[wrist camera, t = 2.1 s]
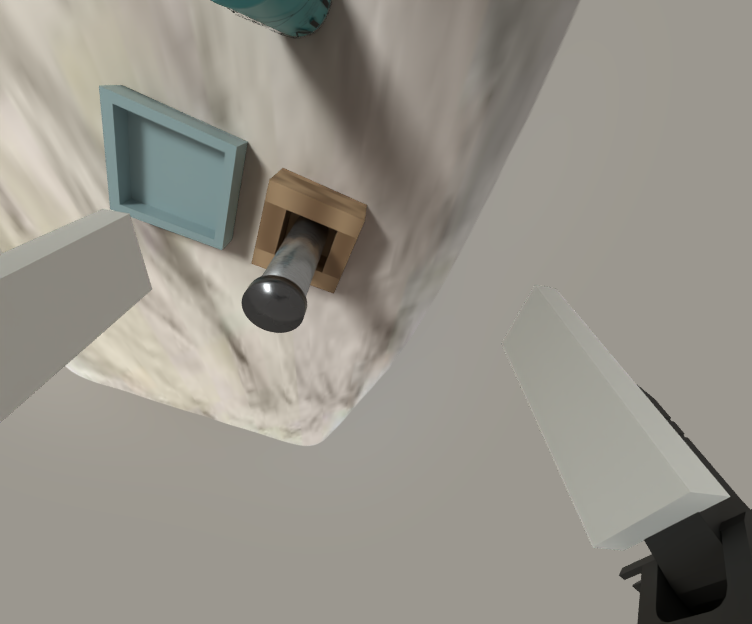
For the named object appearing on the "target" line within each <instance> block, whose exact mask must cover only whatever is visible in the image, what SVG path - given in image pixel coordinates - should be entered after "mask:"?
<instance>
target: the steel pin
mask: <svg viewBox="0 0 752 624" xmlns="http://www.w3.org/2000/svg"><path fill="white" fill-rule="evenodd" d="M328 234H329V228H328V227H327V226H325V225H322V224H320V223H318V222H315V221H313V220H310V219H308V218H306V217H303V216H300V217H299V218H298V219H297V221H296V222H295V224H294V225H293V227H292V229H291V230H290V232H289V233H288V235H287V237H286V238H285V240H284V241H283V243H282V245H281V246H280V248H279V249H278V251H277V253H276V254H275V256H274V257H273V259H272V261H271V262H270V264H269V265H268V267H267V269H266V270H265V272H264V273H263V275H262V276H261V277H259V278H257V279H255V280H254V281H253V282H252V283H251V284H250V286H249V287H248V289H247V290H246V292H245V293H244V295H243V298H242V308H243V311H244V313H245V315H246V316H247V318H248V319H249V320H250V321H251V322H252V323H253V324H255V325H256V326H258V327H259V328H261V329H264V330H266V331H270V332H275V333H284V332H289V331H292V330H294V329H296V328H297V327H298V326H299V325H300V324H301V323H302V321H303V318H304V315H305V312H306V309H307V299H306V295H307V292H308V289H309V287H310V284H311V281H312V278H313V276H314V273H315V270H316V267H317V264H318V262H319V259H320V256H321V253H322V251H323V248H324V245H325V242H326V240H327V237H328Z"/></svg>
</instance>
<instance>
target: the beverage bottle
mask: <svg viewBox="0 0 752 624" xmlns="http://www.w3.org/2000/svg"><path fill="white" fill-rule="evenodd" d="M211 1H213V2H215V3H217V4H219V5H221V6H224V7H226V8H229V10H230V8H231V9H233V10H235V11H232V10H231V11H232V12H233V13H235V12H239V13H241V14H243V15H245V16H246V17H247V16H248V17H249V18H250V19H251V18H252V19H254V20H256V21H257V22H261V23H263V24H264V26H265V25H266V26H267V27H268V26H269V27H271V28H273V29H276V30H278V31H280V32H282V33H281V35H282V34H287V35H290V36H297V37H299V36H305V35H308V34H310V33H312V32H313V31H314V32H315V31H316V30H317V29H318V28H319V26H320V25H323V24H321V23H323V20H324V19H325V18H326V14H329V13H328V9H329V8H330V7H329V5H330V4H331V3H332V2H330V1H331V0H211ZM224 9H225V8H224ZM329 11H330V10H329ZM236 15H237V14H236ZM237 16H238V15H237ZM327 16H328V15H327ZM248 17H247V18H248ZM242 18H243V16H242ZM248 20H249V19H248ZM249 21H250V20H249ZM254 22H255V21H253V23H254ZM257 22H255V23H257ZM324 22H325V21H324ZM259 25H260V23H259ZM261 26H262V24H261ZM319 29H320V28H319ZM269 30H270V29H269ZM274 32H275V30H274ZM314 32H313V34H314ZM276 33H277V31H276ZM278 34H279V33H278ZM310 35H311V34H310ZM284 36H286V35H284ZM290 36H287V37H289V38H290ZM297 37H293V38H297ZM300 39H301V38H300Z"/></svg>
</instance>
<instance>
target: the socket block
mask: <svg viewBox="0 0 752 624" xmlns="http://www.w3.org/2000/svg"><path fill="white" fill-rule="evenodd" d="M366 208H367V205H366V204H363V203H361V202H359V201H356V200H354V199H352V198H350V197H347V196H345V195H343V194H341V193H338V192H336V191H334V190H332V189H329V188H327V187H325V186H323V185H320V184H318V183H316V182H314V181H311V180H309V179H307V178H305V177H302V176H300V175H298V174H296V173H293V172H291V171H289V170H287V169H284V168H282V169H281V170H280V171H279V172H278V173H277V174H275V175H274V176H273V177H272V178H271V179H270V180H269V184H268V189H267V193H266V198H265V203H264V207H263V212H262V217H261V222H260V226H259V231H258V236H257V240H256V245H255V250H254V254H253V259H252V264H254V265H257V266H260V267H262V268H265V269H267V267H268V265H269V264H270V262H271V261H272V259H273V257H274V256H275V254H276V253H277V251H278V249H279V248H280V246H281V245H282V243H283V241H284V240H285V238H286V237H287V235H288V233H289V232H290V230H291V229H292V227H293V225H294V224H295V222H296V221H297V219H298V218H299V217H300V216H303V217H306V218H308V219H310V220H313V221H315V222H318V223H320V224H322V225H325V226H327V227H328V228H329V234H328V237H327V240H326V242H325V245H324V248H323V251H322V253H321V256H320V259H319V262H318V264H317V267H316V270H315V273H314V276H313V278H312V281H311V284H310V285H312V286H315V287H317V288H320V289H323V290H326V291H328V292H331V293H334V292H335V289H336V287H337V285H338V282H339V280H340V278H341V275H342V273H343V271H344V268H345V266H346V264H347V261H348V259H349V257H350V254H351V252H352V249H353V247H354V245H355V242H356V240H357V238H358V235H359V233H360V231H361V228H362V226H363V224H364V221H365V215H366Z"/></svg>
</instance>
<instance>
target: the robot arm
mask: <svg viewBox="0 0 752 624" xmlns="http://www.w3.org/2000/svg"><path fill="white" fill-rule="evenodd" d="M151 290H152V287H151V283H150V280H149V277H148V273H147V270H146V267H145V263H144V260H143V257H142V254H141V250H140V247H139V244H138V240H137V237H136V234H135V230H134V227H133V224H132V220H131V217H130V214H129V213H123V212H117V211H112V210H106V209H101V210H99V211H97V212H95V213H92V214H90V215H88V216H86V217H83V218H81V219H79V220H77V221H74V222H72V223H70V224H67V225H65V226H63V227H61V228H58V229H56V230H54V231H52V232H49V233H47V234H45V235H42V236H40V237H38V238H36V239H33V240H31V241H29V242H27V243H24V244H22V245H20V246H18V247H15V248H13V249H11V250H8V251H6V252H4V253H2V254H0V423H1V422H2V421H3V420H4V419H5V418H6V417H7V416H8V415H10V414H11V413H12V412H13V411H14V410H15V409H16V408H18V407H19V406H20V405H21V404H22V403H23V402H24V401H26V400H27V399H28V398H29V397H30V396H31V395H32V394H34V393H35V391H37V390H38V389H39V388H40V387H42V386H43V385H44V384H45V383H46V382H47V381H48V380H49V379H51V378H52V377H53V376H54V375H55V374H56V373H57V372H59V371H60V370H61V369H62V368H63V367H64V366H65V365H67V364H68V363H69V362H70V361H71V360H72V359H73V358H75V357H76V356H77V355H78V354H79V353H80V352H81V351H82V350H84V349H85V348H86V347H87V346H88V345H89V344H90V343H92V342H93V341H94V340H95V339H96V338H97V337H98V336H100V335H101V334H102V333H103V332H104V331H105V330H106V329H107V328H109V327H110V326H111V325H112V324H113V323H114V322H115V321H117V320H118V319H119V318H120V317H121V316H122V315H123V314H125V313H126V312H127V311H128V310H129V309H130V308H131V307H133V306H134V305H135V304H136V303H137V302H138V301H139V300H140V299H142V298H143V297H144V296H145V295H146V294H147V293H148V292H150V291H151ZM501 344H502V346H503V349H504V351H505V353H506V355H507V358H508V360H509V362H510V364H511V367H512V369H513V371H514V373H515V375H516V378H517V380H518V382H519V384H520V387H521V389H522V391H523V393H524V395H525V398H526V400H527V402H528V404H529V407H530V409H531V411H532V413H533V416H534V418H535V420H536V422H537V424H538V427H539V429H540V431H541V433H542V435H543V438H544V440H545V442H546V445H547V447H548V449H549V451H550V453H551V456H552V458H553V460H554V462H555V465H556V467H557V469H558V471H559V473H560V476H561V478H562V480H563V482H564V485H565V487H566V489H567V491H568V494H569V496H570V498H571V500H572V502H573V505H574V507H575V509H576V511H577V514H578V516H579V518H580V520H581V523H582V525H583V527H584V529H585V531H586V534H587V536H588V538H589V540H590V543H591V544H592V547H594V548H604V549H614V550H626V549H628V548H630V547H632V546H634V545H636V544H638V543H640V542H642V541H645V542H646V544H647V546H648V548H649V549H650V551H651V553H652V555H650V556H647V557H645V558H643V559H641V560H639V561H636V562H634V563H632V564H630V565H628V566H626V567H624V568H622V570H621V572H620V575H619V576H620V577H622V578H623V579H624V580H626V579H628V578H630V577H633V576H635V575H637V574H640V573H641V574H642V575H641V581H638V582H637V583H635V584H633V587H634V588H635V589H636V590H637V591H639V592H640V599H639V612H638V624H752V509H751V510H750V509H749V508H748V507H747V506H746V504H745V503H744V502H743V501H742V500H741V499H740V498H739V497H738V496H737V494H736V493H735V492H734V491H733V490H732V489H731V487H730V486H729V485H728V484H727V483H726V482H725V480H724V479H723V478H722V477H721V476H720V475H719V473H718V472H717V471H716V470H715V469H714V468H713V466H712V465H711V464H710V463H709V462H708V461H707V459H706V458H705V457H704V456H703V455H702V454H701V452H700V451H699V450H698V449H697V448H696V447H695V445H694V444H693V443H692V442H691V441H690V440H689V439H688V438H686V437H684V433H683V431H682V430H681V429H680V428H679V427H678V426H677V424H676V423H675V422H673V421H671V420H670V418H671V417H670V416H669V415H668V414H667V413H666V412H665V410H663V408H662V407H661V406H660V405H659V403H658V402H657V401H656V400H655V399H654V398H653V397H652V396H650V395H649V394H648V393H647V392H645V391H644V390H643V389H642V388H641V387H639V386H638V385H637V384H636V383H635V382H634V381H633V380H632V379H631V377H630V376H629V375H628V374H627V373H626V371H625V370H624V369H623V368H622V367H621V365H620V364H619V363H618V362H617V361H616V360H615V358H614V357H613V356H612V355H611V354H610V352H609V351H608V350H607V349H606V348H605V346H604V345H603V344H602V343H601V342H600V341H599V339H598V338H597V337H596V336H595V334H594V333H593V332H592V331H591V330H590V328H589V327H588V326H587V325H586V324H585V323H584V321H583V320H582V319H581V318H580V317H579V316H578V314H577V313H576V312H575V311H574V309H573V308H572V307H571V306H570V305H569V304H568V302H567V301H566V300H565V299H564V297H563V296H562V295H561V294H560V293H559V291H558V290H557V289H556V288H551V287H545V286H540V285H534V287H533V289H532V291H531V293H530V294H529V296H528V298H527V299H526V301H525V303H524V305H523V306H522V308H521V310H520V312H519V314H518V315H517V317H516V319H515V321H514V322H513V324H512V326H511V327H510V329H509V331H508V332H507V334H506V336H505V338H504V340H503V341H502V343H501Z"/></svg>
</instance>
